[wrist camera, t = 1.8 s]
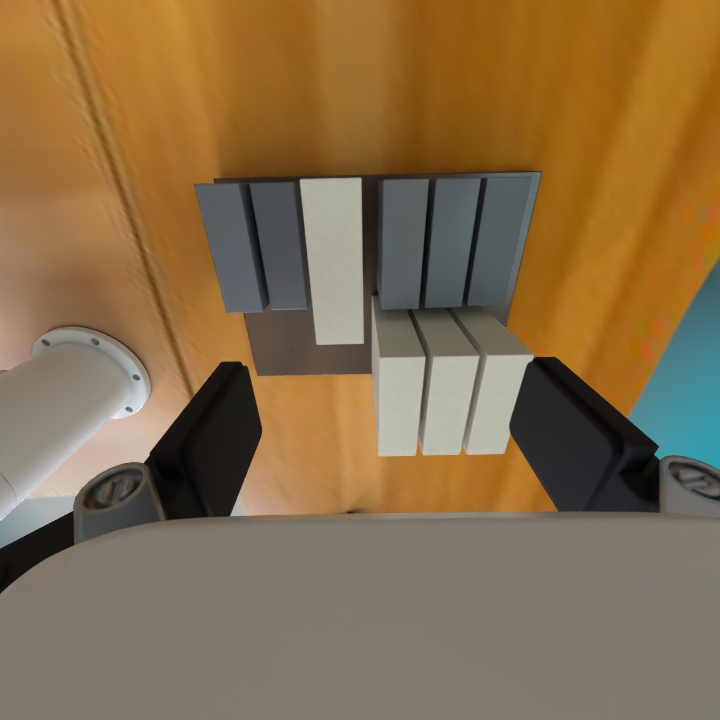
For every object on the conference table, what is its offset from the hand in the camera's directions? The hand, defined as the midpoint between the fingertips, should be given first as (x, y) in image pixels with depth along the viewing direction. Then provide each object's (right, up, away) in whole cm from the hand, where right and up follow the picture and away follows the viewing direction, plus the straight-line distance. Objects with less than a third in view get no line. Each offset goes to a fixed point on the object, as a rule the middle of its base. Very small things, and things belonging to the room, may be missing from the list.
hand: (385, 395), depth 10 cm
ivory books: (+5, +4, +23) cm, 24 cm away
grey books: (-1, +13, +18) cm, 22 cm away
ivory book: (-2, +13, +18) cm, 22 cm away
